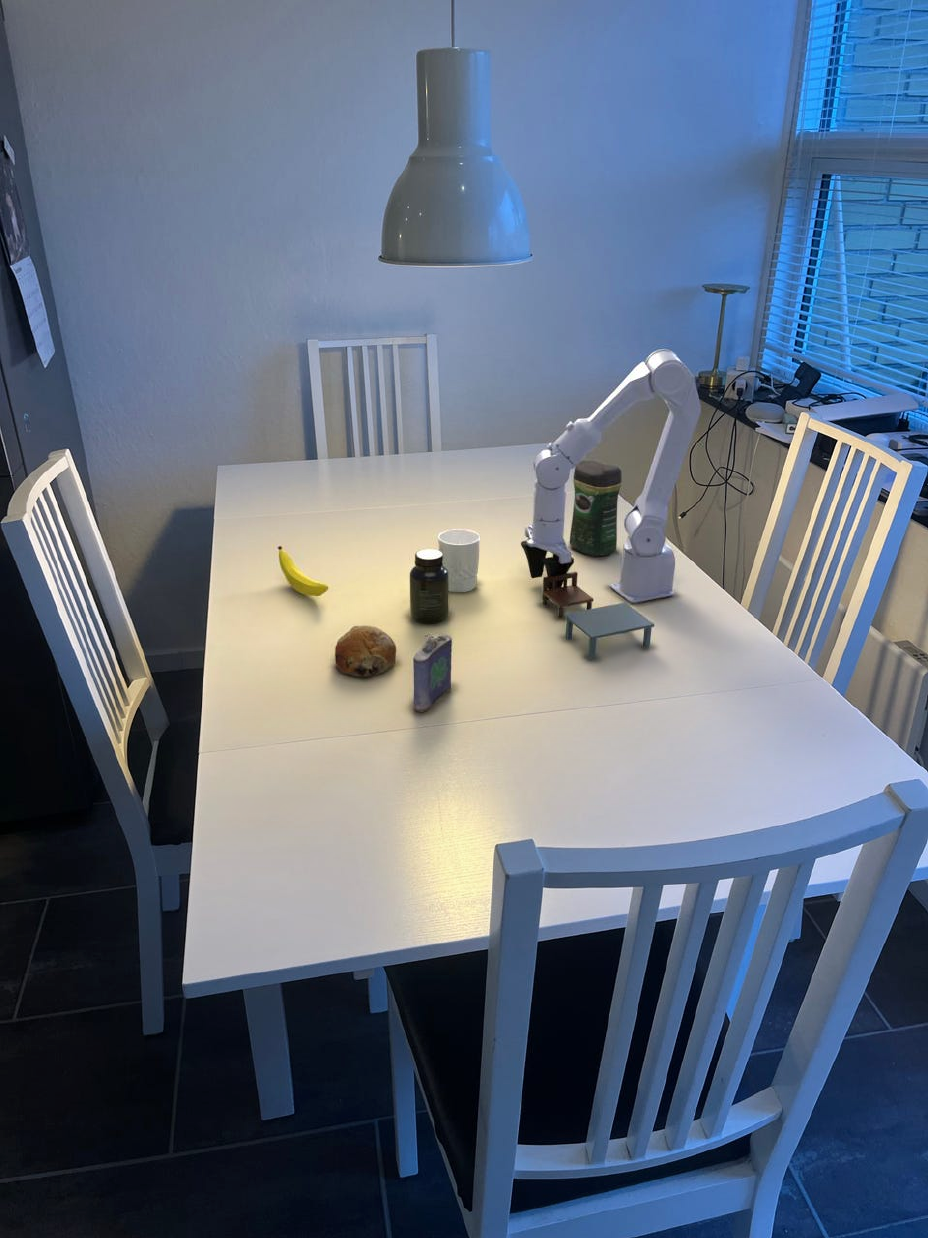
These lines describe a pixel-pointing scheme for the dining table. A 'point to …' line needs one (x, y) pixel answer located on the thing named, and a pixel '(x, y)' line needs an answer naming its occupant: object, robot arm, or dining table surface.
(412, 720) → the dining table surface
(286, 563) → the banana
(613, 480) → the coffee jar
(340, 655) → the bread roll
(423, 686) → the flask
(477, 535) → the white cup
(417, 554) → the supplement bottle
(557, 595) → the chair
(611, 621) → the table
